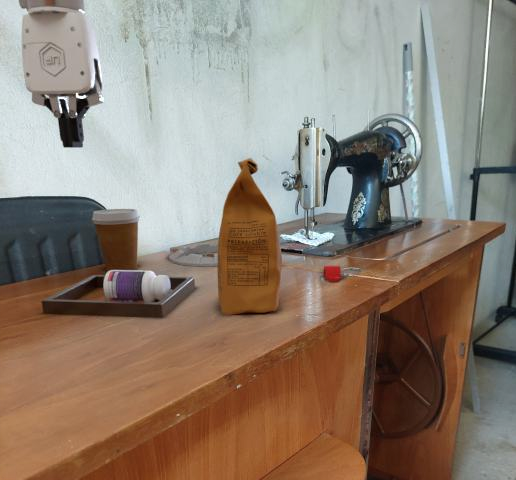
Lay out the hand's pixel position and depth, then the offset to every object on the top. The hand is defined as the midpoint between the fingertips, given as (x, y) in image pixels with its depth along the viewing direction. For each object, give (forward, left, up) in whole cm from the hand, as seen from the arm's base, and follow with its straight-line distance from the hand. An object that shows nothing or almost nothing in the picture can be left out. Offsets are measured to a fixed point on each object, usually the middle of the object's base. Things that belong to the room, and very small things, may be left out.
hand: (73, 147), depth 78 cm
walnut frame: (+6, -1, -24) cm, 25 cm away
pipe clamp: (+39, +20, -24) cm, 50 cm away
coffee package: (+27, -1, -24) cm, 36 cm away
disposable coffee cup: (-5, +23, -24) cm, 34 cm away
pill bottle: (+3, -1, -21) cm, 22 cm away
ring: (+11, +37, -24) cm, 46 cm away
